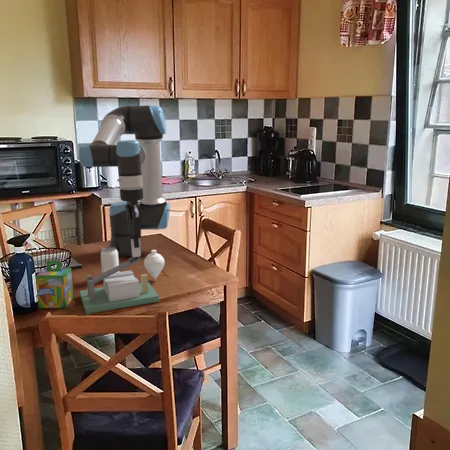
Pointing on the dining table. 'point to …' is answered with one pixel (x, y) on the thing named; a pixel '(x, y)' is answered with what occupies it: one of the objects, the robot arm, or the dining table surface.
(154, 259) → the spinning top
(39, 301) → the chalk box
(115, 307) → the heatsink board
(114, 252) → the can
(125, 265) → the strap
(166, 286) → the dining table surface
